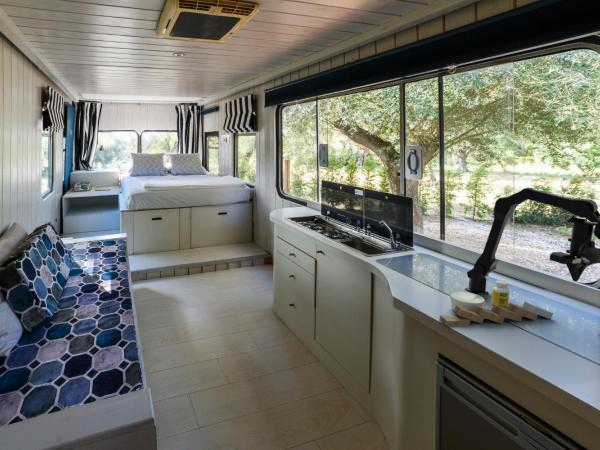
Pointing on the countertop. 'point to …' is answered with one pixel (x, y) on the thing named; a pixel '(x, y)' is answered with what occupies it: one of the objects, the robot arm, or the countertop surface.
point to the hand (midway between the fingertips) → (575, 281)
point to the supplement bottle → (500, 294)
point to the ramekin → (466, 300)
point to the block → (537, 310)
